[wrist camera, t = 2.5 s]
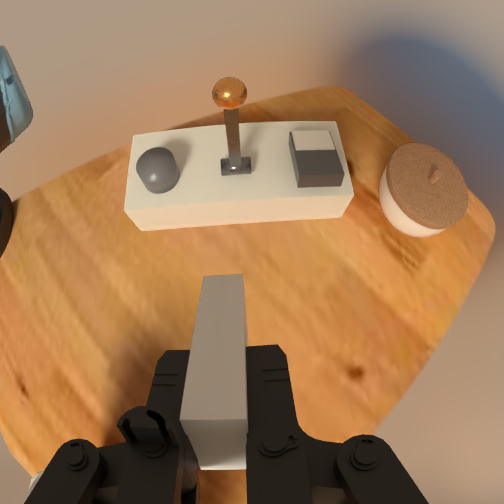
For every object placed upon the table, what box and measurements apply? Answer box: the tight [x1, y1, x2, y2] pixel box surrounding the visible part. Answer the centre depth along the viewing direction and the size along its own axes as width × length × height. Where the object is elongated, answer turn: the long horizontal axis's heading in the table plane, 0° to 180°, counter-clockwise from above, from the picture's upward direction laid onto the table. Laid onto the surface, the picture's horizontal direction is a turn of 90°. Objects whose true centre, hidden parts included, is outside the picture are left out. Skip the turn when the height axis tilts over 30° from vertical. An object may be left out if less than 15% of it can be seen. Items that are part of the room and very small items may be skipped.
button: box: [136, 147, 180, 194], centre depth 32 cm, size 4×4×3 cm
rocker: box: [288, 131, 345, 188], centre depth 31 cm, size 4×6×2 cm
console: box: [124, 121, 354, 231], centre depth 36 cm, size 24×10×6 cm, turn 94°
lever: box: [212, 77, 251, 176], centre depth 27 cm, size 3×3×13 cm
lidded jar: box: [379, 143, 468, 237], centre depth 34 cm, size 11×11×9 cm
